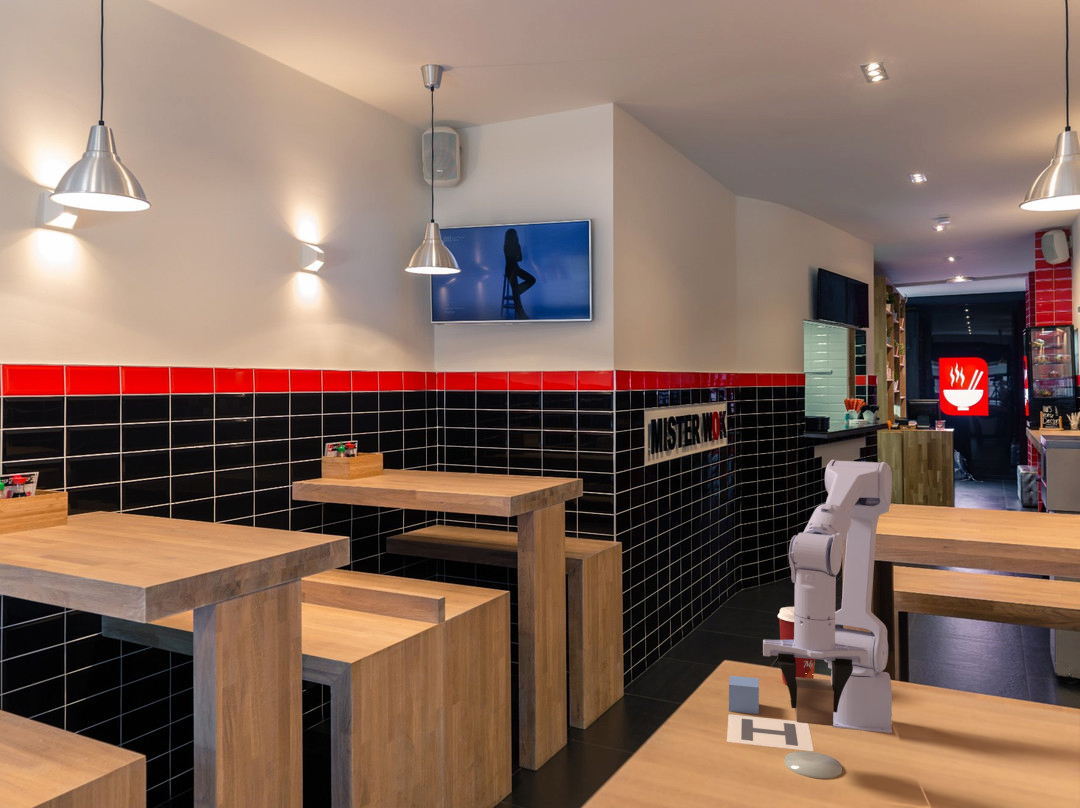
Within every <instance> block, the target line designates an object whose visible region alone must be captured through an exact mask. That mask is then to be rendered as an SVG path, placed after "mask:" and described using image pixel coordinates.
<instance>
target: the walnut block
mask: <svg viewBox="0 0 1080 808" xmlns="http://www.w3.org/2000/svg"><path fill="white" fill-rule="evenodd" d="M796 700H797V704H796V708H794V712H795V713H794V715H795V721H797V722H798V723H808V724H809V725H819V726H829V727H831V726H833V708H834V691H833V687H832V684H831V679H820V678H813V679H812V678H801V677H796Z"/></svg>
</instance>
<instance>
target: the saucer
mask: <svg viewBox="0 0 1080 808" xmlns="http://www.w3.org/2000/svg"><path fill="white" fill-rule="evenodd" d="M784 765H785V766H786V768H787V770H790V771H791V772H793V773H795V774H796V775H797V774H798V775H800V776H802V777H807V778H812V779H820V780H821V779H824V780H825V779H833V778H837V777H839V776H840V775H842V773H843V765H842V763H841V762H840V761H839V760H837V759H836V758H834V757H832V756H830V755H827V754H825V753H820V752H816V751H805V750H797V751H794V752H790V753H787V754H786V755H785V757H784Z"/></svg>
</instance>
